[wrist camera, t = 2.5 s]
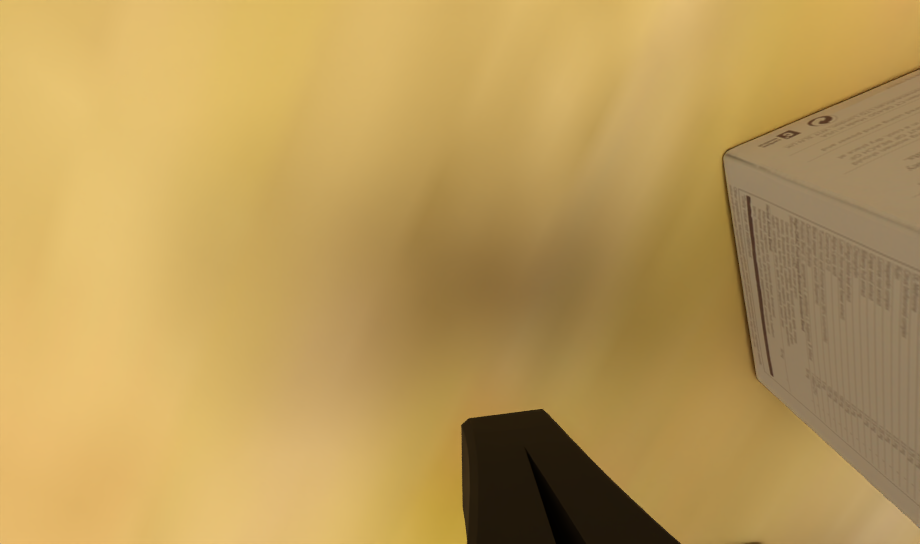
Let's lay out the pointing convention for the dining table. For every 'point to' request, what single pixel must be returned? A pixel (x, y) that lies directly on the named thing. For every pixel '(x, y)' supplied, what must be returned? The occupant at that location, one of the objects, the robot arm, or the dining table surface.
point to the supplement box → (839, 276)
